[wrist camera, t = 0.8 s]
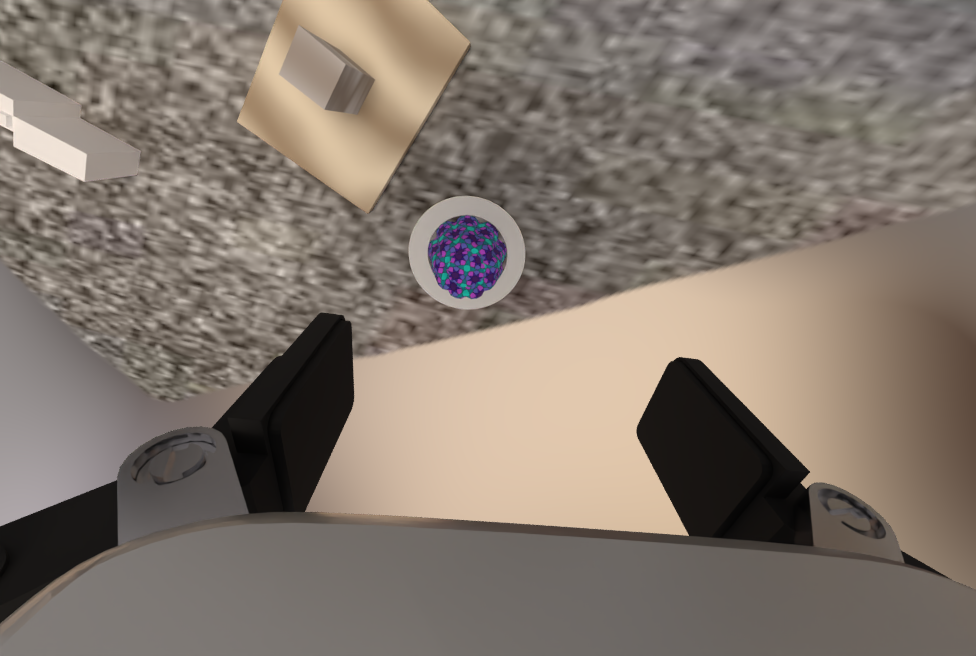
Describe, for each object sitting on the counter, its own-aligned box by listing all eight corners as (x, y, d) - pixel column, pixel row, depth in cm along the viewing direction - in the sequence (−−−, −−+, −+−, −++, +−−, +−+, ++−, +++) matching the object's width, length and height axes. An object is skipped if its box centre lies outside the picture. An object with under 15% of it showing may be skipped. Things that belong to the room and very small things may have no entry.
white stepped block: (-66, 47, 27) (-188, 29, 22) (44, -14, 26) (-60, -49, 21) (96, 229, 34) (31, 246, 29) (191, 190, 33) (139, 200, 28)
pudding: (416, 182, 33) (406, 190, 28) (538, 208, 34) (547, 220, 30) (404, 296, 39) (394, 318, 34) (509, 314, 40) (513, 338, 35)
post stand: (330, -91, 24) (264, -191, 16) (470, 46, 28) (467, 15, 20) (247, 122, 30) (171, 118, 22) (372, 210, 34) (342, 232, 26)
